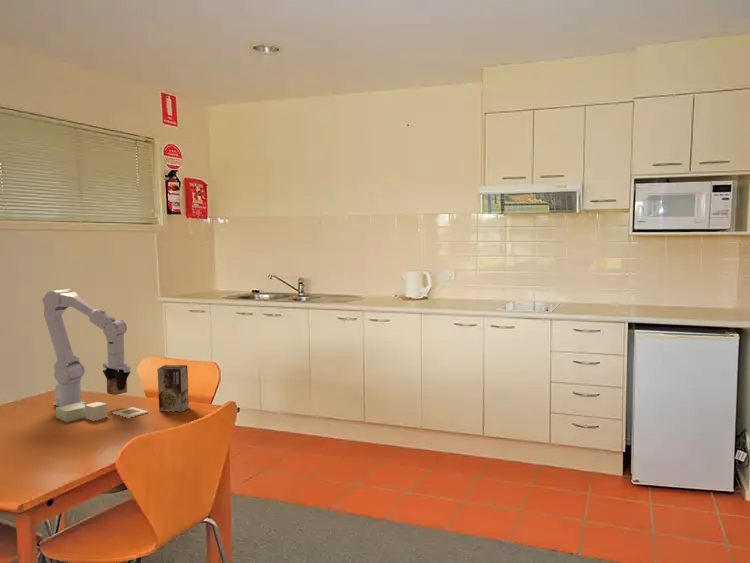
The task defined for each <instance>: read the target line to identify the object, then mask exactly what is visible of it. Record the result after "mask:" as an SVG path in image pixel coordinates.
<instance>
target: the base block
mask: <svg viewBox="0 0 750 563" xmlns="http://www.w3.org/2000/svg"><path fill="white" fill-rule="evenodd" d="M85 405H86V404H81V403H74V404H69V405H65V406H56V407H55V418H56V419H59V420H61V421H63V422H66V423H68V422H69V423H70V422H73V421H77V420H81V419H86V418H85V417H86V415H85Z"/></svg>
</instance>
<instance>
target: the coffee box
mask: <svg viewBox="0 0 750 563" xmlns="http://www.w3.org/2000/svg"><path fill="white" fill-rule="evenodd" d="M188 374H189V373H188V365H185V364H184V365H183V364H180V365H179V364H175V365H174V364H170V365H169V364H164V365H162V366H160V367H159V368H157V384H158V386H157V387H158V388H157V390H158V412H160V411H167V412H168V413H169V412H170V411H172V413H173V412H175V411H178V412H179V413H183V412H184V411H186V410H187V409H189V408H190V407H189V406H190V405H189V402H190V401H189V379H188V378H189V376H188ZM188 407H189V408H188ZM185 409H186V410H185ZM182 411H183V412H182ZM167 412H166V413H167ZM170 413H171V412H170ZM175 413H176V412H175Z"/></svg>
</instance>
